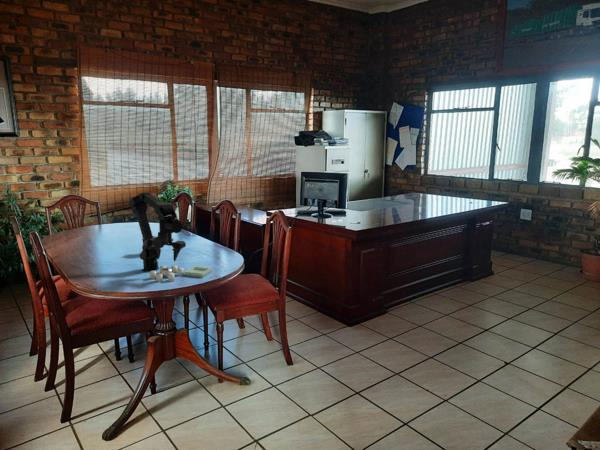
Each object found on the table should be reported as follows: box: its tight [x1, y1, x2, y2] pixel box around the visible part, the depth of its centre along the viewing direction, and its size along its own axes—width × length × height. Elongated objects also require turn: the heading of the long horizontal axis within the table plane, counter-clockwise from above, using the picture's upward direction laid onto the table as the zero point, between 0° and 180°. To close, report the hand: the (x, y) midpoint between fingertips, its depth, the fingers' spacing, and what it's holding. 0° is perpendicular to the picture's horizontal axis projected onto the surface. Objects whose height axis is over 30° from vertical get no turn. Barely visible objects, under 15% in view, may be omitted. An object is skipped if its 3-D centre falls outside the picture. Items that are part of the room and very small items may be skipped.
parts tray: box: [184, 265, 212, 279], centre depth 228 cm, size 10×10×2 cm
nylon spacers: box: [149, 264, 185, 283], centre depth 222 cm, size 13×17×4 cm
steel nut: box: [162, 267, 172, 279], centre depth 222 cm, size 5×5×4 cm
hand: (166, 260), depth 221 cm, fingers open, 9 cm apart
